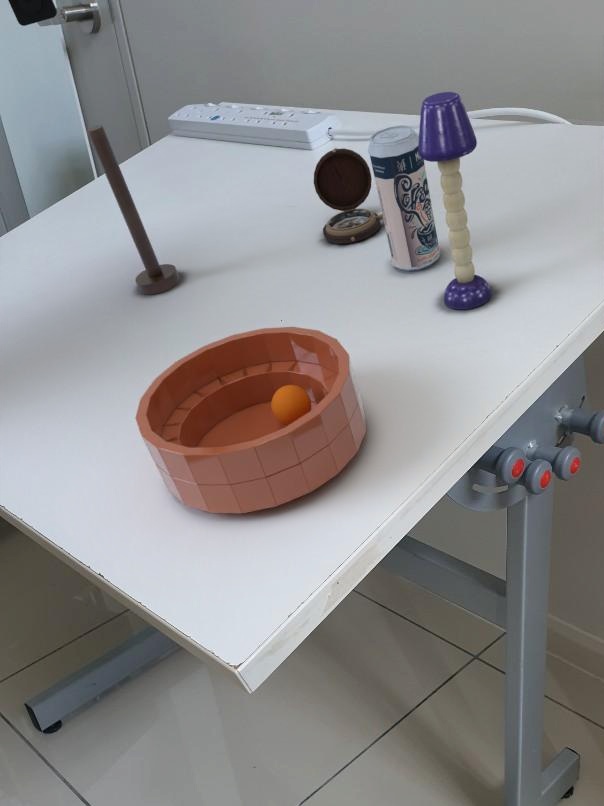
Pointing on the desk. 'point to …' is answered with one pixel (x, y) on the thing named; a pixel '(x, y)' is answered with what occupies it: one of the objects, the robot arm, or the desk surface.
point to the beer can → (404, 197)
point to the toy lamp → (453, 189)
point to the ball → (290, 404)
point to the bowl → (252, 420)
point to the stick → (133, 220)
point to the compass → (345, 195)
